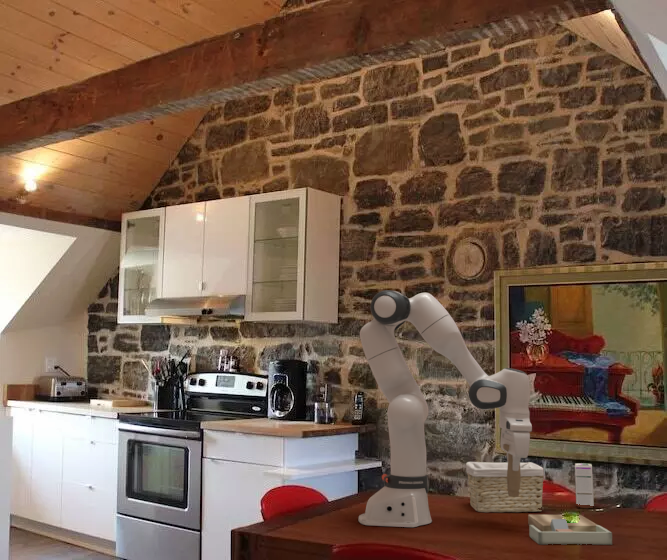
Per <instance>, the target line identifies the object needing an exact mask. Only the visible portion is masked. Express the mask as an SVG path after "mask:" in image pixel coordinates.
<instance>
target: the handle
mask: <svg viewBox="0 0 667 560" xmlns="http://www.w3.org/2000/svg"><path fill="white" fill-rule="evenodd" d="M503 448H504V449H505V450H506V451H507V452H508V451H509V445H507V444H503ZM507 452H506V453H507ZM507 462H508V470H507V487H508V490H509V491H508V495H509V496H513V497H518V496H519V490H520V483H521V477H520V476H521V473H520V463H521V462H520V463H519V470H518V471H513V470H512V463H513V459H512V455H511V454H509V453H508V461H507Z"/></svg>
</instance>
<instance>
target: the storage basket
mask: <svg viewBox="0 0 667 560" xmlns="http://www.w3.org/2000/svg"><path fill="white" fill-rule="evenodd" d="M465 466H466V467H465V473H466V474H467V480H468V482H467V484H468V491H469V499H470V501H469V503H470V506H471V507H472V508H473V510H475V511H476V512H478V513H522V512H523V513H528V512H530V513H531V512H532V513H534V512H535V513H536V512H542V511H543V509H542V510H539V509H538V508H541V507H542V508H543V492H544V491H543V487H544V483H543V482H544V476H545V472H544V471H545V470H544V467H542V466H540V465H539V464H537V463H534V462H532V461H531V462H530V461H528V462H520V473H521V476H520V477H521V483H520V490H519V496H518V497H513V496H509V495H508V491H509V490H508V487H507V470H508V461H507V462H487V461H486V462H485V461H481V462H480V461H467V462H466V463H465Z"/></svg>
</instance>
